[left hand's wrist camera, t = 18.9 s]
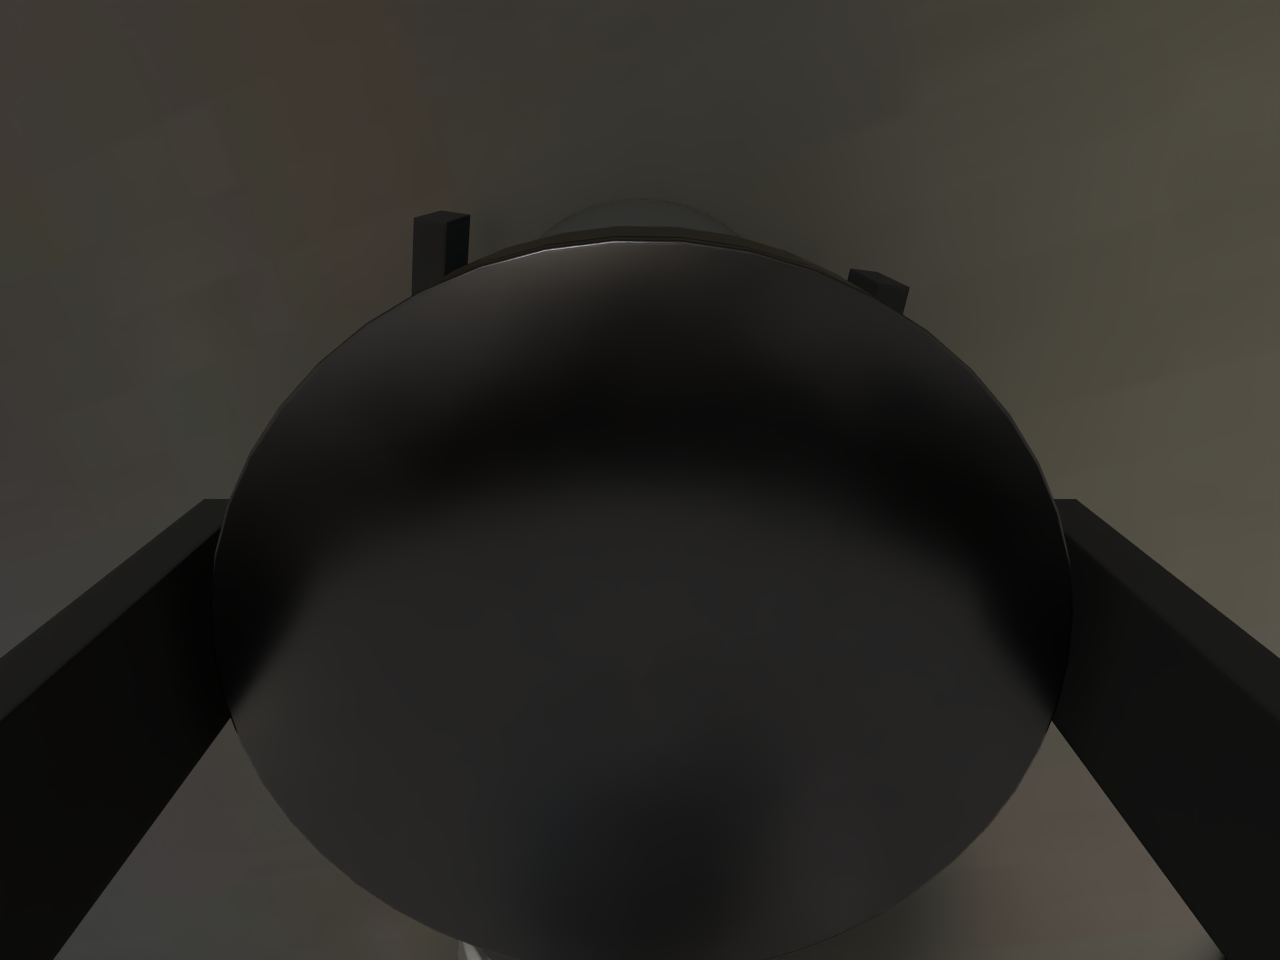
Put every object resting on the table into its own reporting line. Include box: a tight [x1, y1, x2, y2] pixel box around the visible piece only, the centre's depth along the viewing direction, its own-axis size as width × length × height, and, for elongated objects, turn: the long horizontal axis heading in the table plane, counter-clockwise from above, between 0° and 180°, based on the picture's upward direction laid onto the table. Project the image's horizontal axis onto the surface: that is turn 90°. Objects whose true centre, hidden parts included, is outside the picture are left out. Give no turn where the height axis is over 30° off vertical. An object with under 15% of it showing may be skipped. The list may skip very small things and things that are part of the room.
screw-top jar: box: [538, 199, 742, 239], centre depth 19 cm, size 10×10×17 cm
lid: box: [210, 226, 1073, 960], centre depth 11 cm, size 11×11×2 cm
